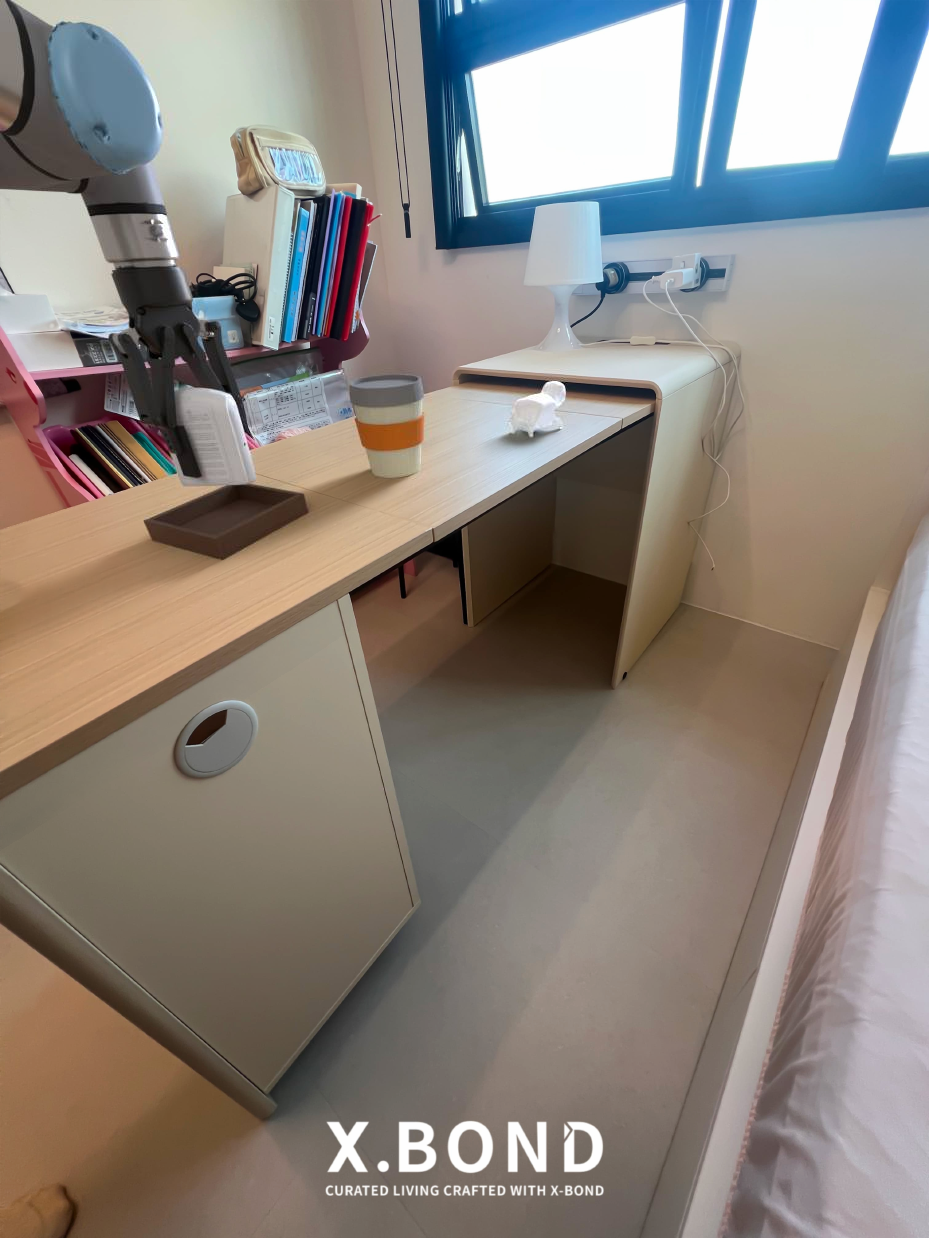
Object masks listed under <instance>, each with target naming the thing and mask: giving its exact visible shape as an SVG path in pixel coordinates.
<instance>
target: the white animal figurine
mask: <svg viewBox="0 0 929 1238" xmlns="http://www.w3.org/2000/svg"><path fill="white" fill-rule="evenodd" d="M566 394H567V392H566V387H565V385H564V384H563V383H562V382H560V381H555V380H554V381H548V382H546V383H545V384H543V387H542V389H541V391H540V393H534V394H530V395H528V396H526V397H524V398H523V397H522V398H520V399H517V400H516V401H514V403H513V404H512V405H513V406H512V408H511V411H510V415H509V420H508V421H507V423H508V425H509V431H510V433H511V434H515V431H516V430H519V431H523V432H526V433H527V434H528V437H530V438H533V437H534V432H537V431H539V430H544V429H547V428H548V427H549V426H550V425H551V426H553V427H554V428H556V429H559V430H561V429H562V428H563V427H564V423H563V421H562V420H561V419H560V417H559V416H558V415H557V412H556V411H557V410H556V409H557V408H559V407H560V406H561V405H562V404H563V403H564V402H565V400H566ZM562 423H563V424H562ZM559 424H561V425H559ZM555 425H557V426H555ZM538 429H539V430H538Z"/></svg>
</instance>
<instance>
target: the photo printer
mask: <svg viewBox="0 0 929 1238" xmlns="http://www.w3.org/2000/svg"><path fill="white" fill-rule="evenodd" d="M174 392H175V405H176V419H177V425H180V426H184V427H185V430H186V433H187V436H188V439H189V441H190V444H191V447H192V450H193V453H194V455H195V458H196V461H197V464H198V467H199V470H200V472H201V475H202V477H199V478H193V477H188V476H184V475H183V472H182V470H181V467H180V464H179V462H178V459H177V456H176V454H173V453H171V452H170V451H169V450H168V451H169V454H170V457H171V460H172V462H173V465H174V468H175V470H176V473H177V476H178V479H179V481H180V484H181V485H182V486H183V487H211V486H226V485H243V484H254V482H256V480H257V475H256V474H257V473H256V469H255V465H254V462H253V458H252V455H251V451H250V447H249V444H248V441H247V440H248V439H247V436H246V433H245V429H244V426H243V423H242V422H243V421H242V418H241V416H240V415H241V414H240V412H239V408H238V405H237V404H236V402H235V400H234V399H233V397H232V396H231V395H230V394H228V393H225V392H222V391H218V390H213V389H207V388H202V387H185V388H179V389H174Z"/></svg>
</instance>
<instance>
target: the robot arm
mask: <svg viewBox="0 0 929 1238" xmlns="http://www.w3.org/2000/svg"><path fill="white" fill-rule="evenodd" d="M163 133H164V132H163V122H162V113H161V108H160V104H159V101H158V99H157V95H156V93H155V90H154V88H153V86H152V83H151V82H150V80H149V77H148V76H147V74H146V71H144V69H143V67H142V65H141V64H140V63H139V61H138V59H136V57H135V56H134V55H133V53H132V52H131V51H130V50H129V49H128V48H127V46H126V45H125V44H124V43H123V42H122V41H120V40H119V39H118V37H116V36H115V35H114V34H112V33H111V32H110V31H108V30H106V29H105V28H103V27H101V26H99V25H96V24H93V23H88V22H85V21H80V22H72V21H67V22H66V21H64V20H63V21H60V22H58V23H55V26H53V25H52V24H50V23H48V22H46V21H44V20H43V19H41V18H40V17H38V16H36V15H35V14H33V13H32V12H30V11H28V10H27V9H26V8H24V7H22V6H21V5H19V4H17V3H16V2H15V1H13V0H0V190H11V191H29V192H31V191H32V192H48V193H49V192H50V193H52V192H53V193H66V194H75V195H79V194H80V196H81V198H82V200H83V201H82V202H83V203H84V206H85V208H86V211H87V213H88V216H89V218H90V221H91V224H92V226H93V229H94V232H95V235H96V238H97V240H98V243H99V246H100V249H101V252H102V255H103V257H104V260H105V262H107V263H108V264H113V267H114V269H112V270H111V273H110V275H111V277H112V280H113V284H114V286H115V288H116V291H117V294H118V296H119V299H120V302H121V304H122V306H123V307H124V309H125V310H126V312H127V315H128V328H126V329H124V330H123V331H120V332H111V333H109V334H108V337H107V338H108V341H109V343H110V345H111V346H112V348H113V349H114V351H115V352H116V353H117V355H118V356H119V359H120V362H121V365H122V369H123V372H124V375H125V379H126V381H127V385H128V388H129V390H130V393H131V394H130V395H131V397H132V400H133V403H134V407H135V409H136V412H137V415H138V416H137V417H138V418H139V421H140V423H141V424H142V425H144V426H149V427H157V428H158V429H160V431H161V435H162V437H163V440H164V442H165V445H166V448H167V450H168V451H170V452H171V453H173V454H176V456H177V459H178V462H179V464H180V467H181V470H182V472H183V475H184V476H188V477H193V478H199V477H202V475H201V472H200V470H199V467H198V464H197V461H196V458H195V455H194V453H193V450H192V447H191V444H190V441H189V439H188V436H187V433H186V430H185V427H184V426H180V425H177V419H176V405H175V392H174V390H175V380H174V369H175V368H176V360H177V359H179V358H180V359H181V360H182V361H183V362H185V363H186V364H187V366H188V367H189V369H190V371H191V372H192V373H193V375H194V377H195V379H196V381H197V382H198V383H199V385H200V386H201V387H200V388H207V389H213V390H218V391H222V392H225V393H228V394H230V395H231V396H232V397H233V399H234V400H235V402H236V405H237V404H240V403H242V401H243V398H242V395H241V391H240V389H239V386H238V383H237V381H236V377H235V375H234V371H233V368H232V366H231V363H230V360H229V357H228V353H227V351H226V349H225V346H224V343H223V333H222V325H221V323H220V322H219V321H218V320H203V319H200V317H199V316H198V315H197V313H196V311H195V310H194V308H193V302H194V298H193V294H192V290H191V286H190V285H189V281H188V277H187V274H186V271H185V269H183V267H182V266H178V265H177V261H179V260H180V258H181V255H180V251H179V249H178V245H177V242H176V239H175V235H174V231H173V228H172V225H171V221H170V217H169V215H168V213H167V209H166V206H165V201H164V199H163V196H162V195H163V194H162V192H161V188H160V185H159V181H158V177H157V174H156V170H155V168H154V164H153V163H154V162H153V160H154V159H155V158H156V156H157V155H158V153H159V151H160V149H161V146H162V141H163ZM199 337H200V338H201V343H202V345H201V343H200V342H199ZM139 342H140V343H141V344H142V345H143V346H144V347H145V350H146V361H147V365H148V366H149V367H150V375H149V372H148V369H147V365H146V363H145V360H144V357H143V354H142V353H141V348H142V345H141V344H140V343H139ZM150 378H151V379H150ZM170 452H169V453H170Z"/></svg>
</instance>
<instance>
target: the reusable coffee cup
mask: <svg viewBox="0 0 929 1238" xmlns="http://www.w3.org/2000/svg"><path fill="white" fill-rule="evenodd" d="M348 387H349V389H348V391H349V400H350V401H349V402H350V403H351V404H352V407H353V410H354V413H355V418H354V422H355V426H356V429H357V433H358V437H359V440H360V443H361V446H362V448H364V450H365V452H366V456H367V460H368V463H369V467H370V470H371V473H372V475H374V476H376V477H379V478H384V479H385V478H386V479H396V478H397V479H398V478H404V477H408V476H412V475H415V474H417V473H418V472H419V471H420V470H421V462H422V461H421V459H422V443H423V442H424V440H425V439H424V437H425V435H424V434H425V412H424V411H423V399H424V398H425V392H424V388H423V382H422V377H421V376H419V375H415V374H407V373H388V374H375V375H369V376H363V377H359V378H355V379H354V380H350V382H349V383H348Z"/></svg>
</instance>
